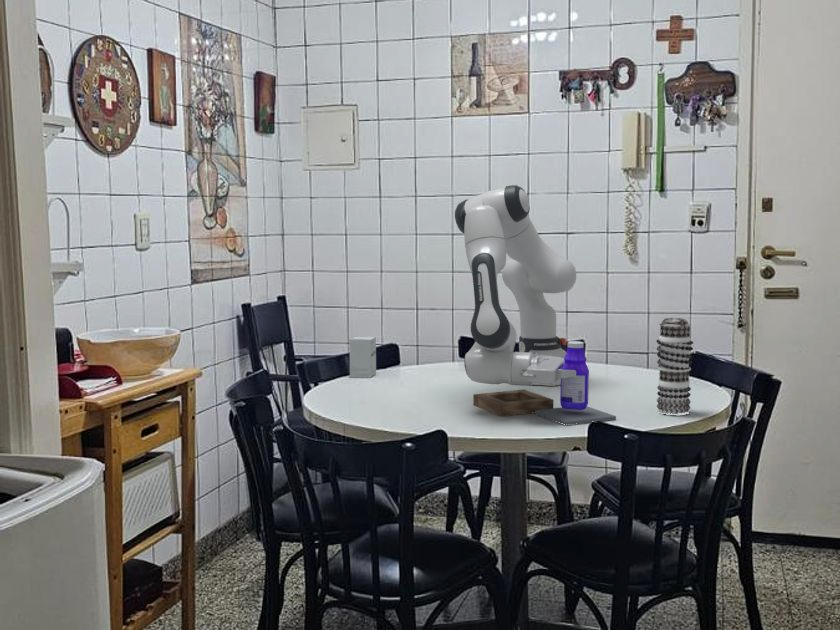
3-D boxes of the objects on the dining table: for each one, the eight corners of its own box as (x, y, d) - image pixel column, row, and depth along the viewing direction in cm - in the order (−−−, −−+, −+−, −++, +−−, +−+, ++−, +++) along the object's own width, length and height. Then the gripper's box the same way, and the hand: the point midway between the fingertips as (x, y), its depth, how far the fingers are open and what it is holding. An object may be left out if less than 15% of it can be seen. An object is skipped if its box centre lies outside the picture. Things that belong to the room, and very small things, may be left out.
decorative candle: (685, 418, 243) (688, 321, 240) (650, 414, 248) (652, 319, 245) (696, 411, 251) (698, 317, 248) (661, 407, 255) (663, 316, 253)
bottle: (590, 407, 247) (591, 341, 245) (586, 411, 241) (587, 344, 239) (562, 405, 249) (563, 340, 247) (558, 409, 244) (559, 343, 242)
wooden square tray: (524, 399, 268) (524, 389, 268) (553, 410, 253) (553, 399, 253) (473, 404, 262) (473, 394, 261) (500, 416, 247) (500, 405, 247)
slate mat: (583, 408, 255) (583, 405, 255) (615, 419, 241) (615, 416, 241) (535, 414, 249) (535, 410, 249) (565, 425, 236) (565, 421, 236)
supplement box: (371, 378, 305) (370, 339, 303) (349, 377, 306) (348, 339, 305) (376, 374, 312) (376, 336, 311) (355, 373, 313) (354, 336, 312)
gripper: (517, 363, 238) (572, 365, 234) (532, 351, 257) (583, 353, 253) (517, 388, 238) (572, 390, 234) (532, 374, 258) (583, 376, 254)
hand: (578, 371), depth 244 cm, fingers closed on bottle, 6 cm apart
